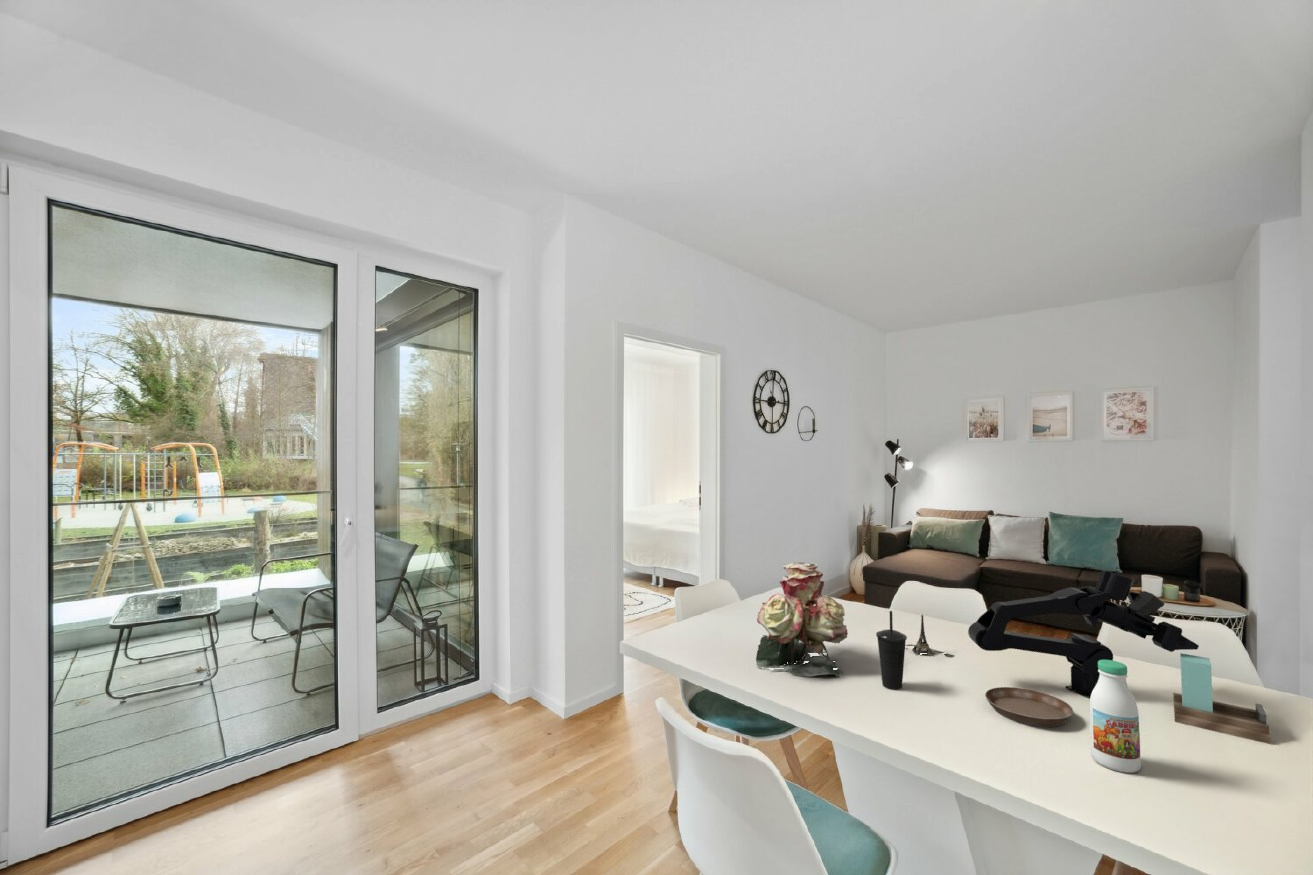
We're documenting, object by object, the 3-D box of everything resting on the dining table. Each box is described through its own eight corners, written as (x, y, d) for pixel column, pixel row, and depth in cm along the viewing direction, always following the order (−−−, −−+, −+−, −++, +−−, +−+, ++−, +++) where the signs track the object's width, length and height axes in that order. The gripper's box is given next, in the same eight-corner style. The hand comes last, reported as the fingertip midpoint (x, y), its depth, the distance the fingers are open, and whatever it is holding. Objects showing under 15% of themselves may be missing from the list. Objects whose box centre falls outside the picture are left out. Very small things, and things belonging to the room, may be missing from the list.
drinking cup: (907, 683, 150) (906, 609, 151) (907, 694, 144) (906, 616, 144) (877, 678, 154) (876, 606, 154) (876, 688, 147) (874, 613, 147)
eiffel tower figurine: (956, 657, 171) (955, 614, 171) (939, 665, 165) (938, 620, 165) (910, 644, 183) (909, 603, 183) (893, 650, 177) (892, 608, 177)
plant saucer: (968, 704, 138) (968, 692, 138) (1018, 693, 144) (1017, 681, 144) (1039, 738, 122) (1038, 724, 122) (1091, 723, 128) (1091, 710, 128)
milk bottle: (1081, 753, 115) (1078, 656, 115) (1115, 752, 115) (1112, 655, 116) (1115, 775, 107) (1111, 671, 108) (1151, 773, 108) (1148, 669, 108)
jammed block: (1183, 711, 130) (1181, 659, 130) (1182, 702, 134) (1180, 653, 135) (1213, 718, 127) (1211, 665, 127) (1211, 709, 131) (1209, 658, 131)
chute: (1174, 721, 128) (1174, 699, 128) (1173, 702, 138) (1172, 682, 138) (1270, 744, 118) (1269, 720, 118) (1262, 722, 128) (1261, 700, 128)
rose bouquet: (751, 674, 157) (750, 568, 158) (769, 642, 184) (769, 551, 185) (846, 688, 148) (844, 575, 149) (851, 652, 175) (849, 556, 176)
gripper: (1153, 596, 134) (1226, 622, 131) (1108, 579, 152) (1170, 602, 149) (1135, 638, 134) (1207, 665, 131) (1092, 616, 153) (1155, 640, 149)
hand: (1184, 641), depth 140 cm, fingers open, 9 cm apart
